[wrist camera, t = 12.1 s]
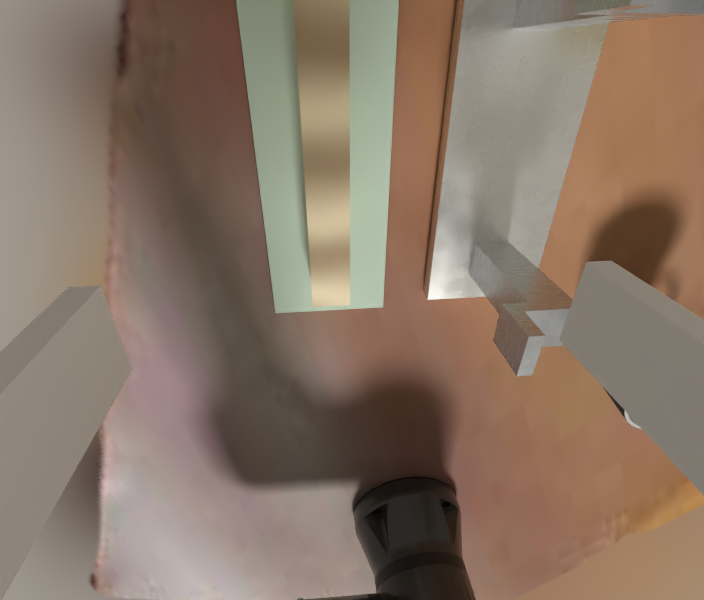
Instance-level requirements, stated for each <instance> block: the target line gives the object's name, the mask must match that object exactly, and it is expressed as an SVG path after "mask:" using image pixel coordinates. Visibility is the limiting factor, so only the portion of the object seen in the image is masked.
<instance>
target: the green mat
mask: <svg viewBox="0 0 704 600" xmlns="http://www.w3.org/2000/svg"><path fill="white" fill-rule="evenodd" d="M236 4H237V12H238V20H239V28H240V36H241V44H242V52H243V59H244V67H245V75H246V83H247V91H248V99H249V107H250V115H251V123H252V131H253V139H254V147H255V155H256V163H257V171H258V179H259V187H260V195H261V203H262V210H263V218H264V226H265V234H266V242H267V250H268V258H269V266H270V274H271V282H272V290H273V298H274V306H275V313H288V312H306V311H323V310H341V309H358V308H376V307H383V297H384V278H385V258H386V239H387V220H388V200H389V181H390V161H391V142H392V123H393V103H394V84H395V65H396V45H397V26H398V7H399V0H350V305H345V306H327V307H313V303H312V287H311V272H310V256H309V240H308V224H307V209H306V193H305V177H304V161H303V146H302V130H301V114H300V98H299V82H298V67H297V51H296V35H295V19H294V4H293V0H236Z"/></svg>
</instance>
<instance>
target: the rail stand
mask: <svg viewBox="0 0 704 600" xmlns="http://www.w3.org/2000/svg"><path fill="white" fill-rule="evenodd" d="M667 16H704V0H457V3H456V12H455V21H454V30H453V38H452V47H451V56H450V64H449V73H448V82H447V90H446V99H445V108H444V116H443V125H442V134H441V143H440V151H439V160H438V169H437V177H436V186H435V195H434V203H433V212H432V221H431V230H430V238H429V247H428V256H427V264H426V273H425V282H424V290H423V292H424V294H425V296H426V298H427V299H428V300H431V299H449V298H467V297H485V296H486V297H487V299H488V300H489V301H490V302H491V304H492V305H493V306H494V308H495V309H496V310H497V312H498V313H499V314H500V315H499V319H498V323H497V327H496V331H495V335H494V339H493V341H494V343H495V344H496V346H497V347H498V349H499V350H500V352H501V353H502V355H503V356H504V358H505V359H506V361H507V362H508V364H509V365H510V367H511V368H512V370H513V371H514V373H515V374H516V376H525V375H533V372H534V369H535V366H536V363H537V360H538V357H539V354H540V351H541V348H542V347H549V346H564V344H563V343H562V342H561V341H560V340H559V339H560V336H561V333H562V330H563V327H564V324H565V321H566V318H567V316H568V313H569V310H570V307H571V304H572V301H573V299H571V298H570V297H569V296H568V295H567V294H566V293H565V292H564V291H563V290H561V289H560V288H559V287H558V286H557V285H556V284H555V283H554V282H553V281H551V280H550V279H549V278H548V277H547V276H546V275H545V274H544V273H543V272H541V271H540V270H539V269H538V268H539V265H540V261H541V258H542V254H543V251H544V247H545V244H546V241H547V237H548V234H549V230H550V227H551V223H552V220H553V216H554V213H555V209H556V206H557V202H558V199H559V195H560V192H561V188H562V185H563V182H564V178H565V175H566V171H567V168H568V164H569V161H570V157H571V154H572V150H573V147H574V143H575V140H576V136H577V133H578V130H579V126H580V123H581V119H582V116H583V112H584V109H585V105H586V102H587V98H588V95H589V91H590V88H591V84H592V81H593V77H594V74H595V71H596V67H597V64H598V60H599V57H600V53H601V50H602V46H603V43H604V39H605V36H606V32H607V29H608V25H609V23H614V22H622V21H631V20H640V19H649V18H658V17H667Z"/></svg>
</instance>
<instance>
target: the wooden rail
mask: <svg viewBox="0 0 704 600" xmlns="http://www.w3.org/2000/svg"><path fill="white" fill-rule="evenodd" d="M293 4H294V19H295V35H296V51H297V67H298V82H299V98H300V114H301V130H302V146H303V161H304V177H305V193H306V209H307V224H308V240H309V256H310V272H311V287H312V303H313V307H327V306H345V305H350V0H293Z"/></svg>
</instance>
